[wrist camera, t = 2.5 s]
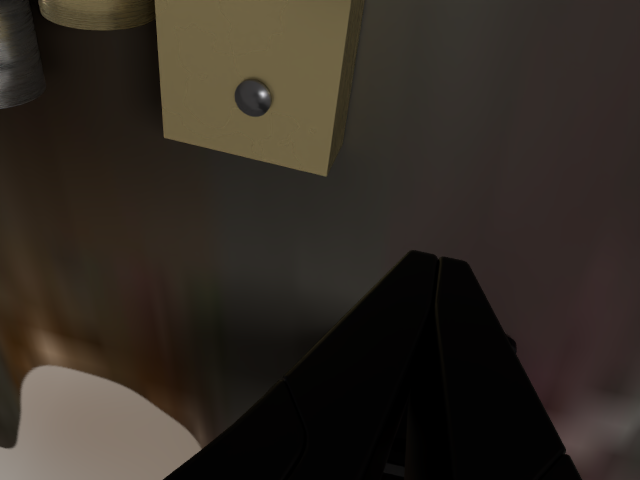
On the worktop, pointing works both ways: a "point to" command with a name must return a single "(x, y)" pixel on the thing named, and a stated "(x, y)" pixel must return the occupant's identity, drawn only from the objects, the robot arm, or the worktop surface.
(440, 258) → the robot arm
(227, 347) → the worktop surface
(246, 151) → the olive box with knob
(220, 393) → the worktop surface
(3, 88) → the fixed leaf
